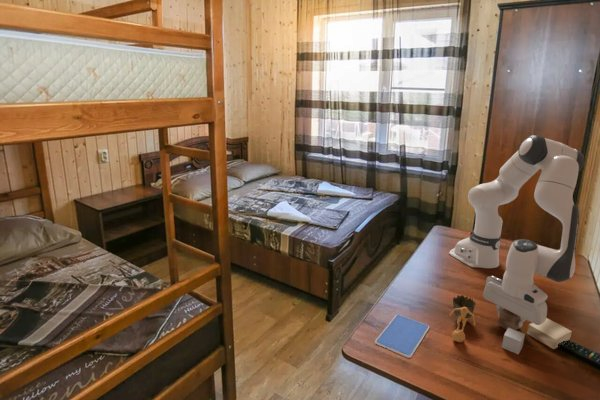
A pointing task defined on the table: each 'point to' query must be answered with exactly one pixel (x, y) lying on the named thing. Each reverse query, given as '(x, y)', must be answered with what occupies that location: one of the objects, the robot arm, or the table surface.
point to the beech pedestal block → (549, 333)
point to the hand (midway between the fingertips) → (509, 321)
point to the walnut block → (508, 319)
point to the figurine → (459, 334)
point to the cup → (463, 305)
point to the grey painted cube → (513, 340)
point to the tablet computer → (402, 335)
